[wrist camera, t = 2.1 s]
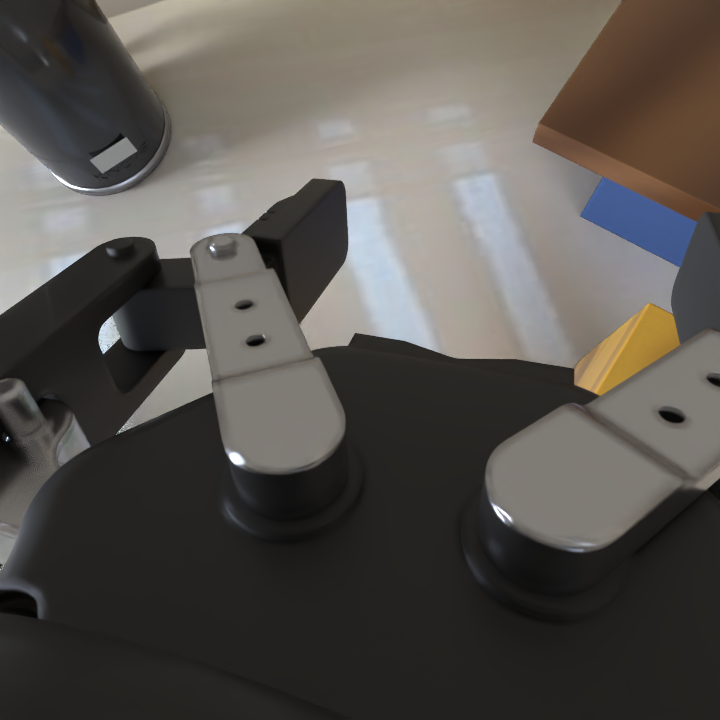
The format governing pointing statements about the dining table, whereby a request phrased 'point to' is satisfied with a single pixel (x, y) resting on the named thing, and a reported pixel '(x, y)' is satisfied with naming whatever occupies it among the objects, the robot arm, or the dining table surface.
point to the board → (647, 105)
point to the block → (628, 350)
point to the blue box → (640, 221)
